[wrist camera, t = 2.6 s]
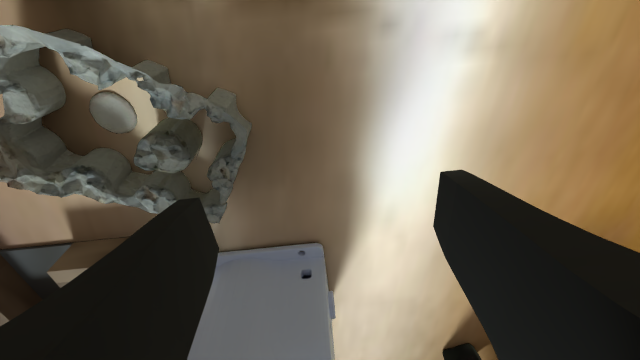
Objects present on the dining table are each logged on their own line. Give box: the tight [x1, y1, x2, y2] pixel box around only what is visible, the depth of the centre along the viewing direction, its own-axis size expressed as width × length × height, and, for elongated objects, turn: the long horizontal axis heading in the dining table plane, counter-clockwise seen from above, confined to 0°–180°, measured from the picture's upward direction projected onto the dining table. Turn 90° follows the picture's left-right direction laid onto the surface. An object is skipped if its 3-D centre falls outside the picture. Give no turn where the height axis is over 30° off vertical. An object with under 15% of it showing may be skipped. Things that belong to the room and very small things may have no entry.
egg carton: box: [0, 25, 252, 223], centre depth 15 cm, size 11×8×4 cm
